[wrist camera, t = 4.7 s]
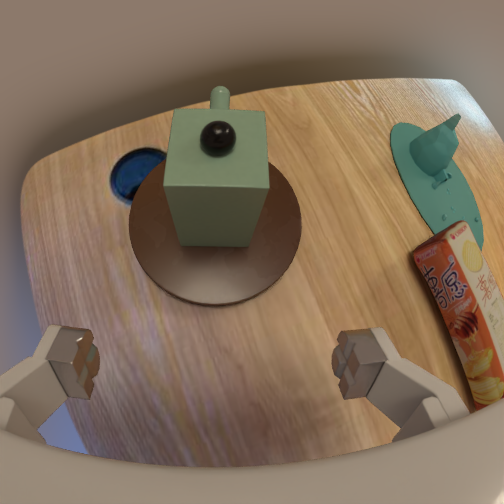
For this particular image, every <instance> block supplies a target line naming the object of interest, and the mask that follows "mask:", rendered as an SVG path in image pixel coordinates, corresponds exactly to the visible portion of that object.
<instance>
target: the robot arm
mask: <svg viewBox="0 0 504 504" xmlns="http://www.w3.org/2000/svg"><path fill="white" fill-rule="evenodd" d="M93 339H94V337H93V334H92V331H91V330H89V329H84V328H76V327H68V326H59V325H53V324H52V325H50V326H48V328H47V330H46V331H45V333H44V335H43V337H42V339H41V341H40V343H39V344H38V346H37V348H36V350H35V352H34V354H33V356H32V357H27V358H26V359H24V360H22V361H21V362H20V363H18V364H17V365H15V366H14V367H12V368H11V369H9V370H8V371H6V372H5V373H3V374H2V375H0V504H504V398H502V399H500V400H498V401H496V402H494V403H492V404H490V405H488V406H486V407H484V408H482V409H480V410H478V411H476V412H474V413H471V414H470V412H469V411H468V409H467V407H466V406H465V404H464V402H463V401H462V399H461V397H460V396H459V394H458V392H457V391H456V389H455V388H454V387H452V386H450V385H449V384H447V383H445V382H444V381H442V380H440V379H439V378H437V377H435V376H434V375H432V374H430V373H429V372H427V371H426V370H424V369H422V368H421V367H419V366H417V365H416V364H414V363H412V362H411V361H409V360H407V359H406V358H403V359H402V358H401V357H400V355H399V353H398V352H397V350H396V348H395V347H394V345H393V343H392V342H391V340H390V338H389V337H388V335H387V334H386V332H385V330H384V329H383V328H382V327H376V328H368V329H358V330H347V331H341V332H340V333H339V335H338V338H337V341H338V343H339V345H338V346H337V347H336V348H335V349H334V350H333V354H332V363H331V364H332V369H333V372H334V375H335V376H337V377H338V378H339V379H341V380H340V382H339V384H338V386H339V388H340V391H341V393H342V396H343V399H344V400H346V399H354V398H361V397H366V398H367V399H368V400H369V401H370V402H371V403H372V404H374V405H375V406H376V407H377V408H378V409H379V410H380V411H381V412H383V413H384V414H385V415H386V416H387V417H388V418H389V419H391V420H392V421H393V422H394V423H395V424H396V425H397V426H399V427H400V428H401V429H400V430H399V432H398V433H397V434H396V435H395V437H394V438H393V440H392V443H388V444H385V445H381V446H377V447H373V448H369V449H365V450H361V451H357V452H352V453H347V454H342V455H337V456H332V457H326V458H321V459H314V460H308V461H300V462H293V463H284V464H274V465H262V466H245V467H183V466H167V465H155V464H145V463H136V462H128V461H121V460H115V459H109V458H103V457H98V456H93V455H88V454H83V453H78V452H73V451H70V450H66V449H62V448H58V447H54V446H51V445H47V444H46V441H45V439H44V438H43V437H42V436H41V434H40V433H39V432H38V431H37V429H38V428H39V427H40V426H41V425H42V424H43V423H44V422H45V421H46V420H47V419H48V418H49V416H51V415H52V414H53V413H54V412H55V411H56V410H57V409H58V408H59V407H60V406H61V405H62V404H63V403H64V402H65V401H66V400H67V399H68V397H73V398H80V399H87V400H90V397H91V394H92V391H93V387H94V383H93V380H92V378H94V377H95V376H96V375H97V374H98V371H99V367H100V356H99V351H98V348H97V347H96V346H95V345H94V344H93V343H92V342H93Z"/></svg>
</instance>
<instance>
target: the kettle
mask: <svg viewBox="0 0 504 504" xmlns="http://www.w3.org/2000/svg"><path fill="white" fill-rule="evenodd" d="M229 105H230V92H229V90H228V89H227V88H225V87H224V86H218V87H215V88H214V89H213V90H212V92H211V99H210V109H174V113H173V119H172V125H171V131H170V137H169V144H168V151H167V158H166V159H165V160H164V161H162V162H161V163H160V164H158V165H157V166H156V167H155V168H154V169H153V170H152V171H151V172H150V173H149V174H148V175H147V176H146V178H145V179H144V180H143V182H142V183H141V185H140V186H139V188H138V190H137V192H136V194H135V197H134V200H133V202H132V205H131V210H130V215H129V233H130V240H131V244H132V248H133V250H134V253H135V255H136V258H137V260H138V261H139V263H140V265H141V267H142V268H143V269H144V271H145V272H146V273H147V274H148V276H149V277H150V278H151V279H152V280H153V281H154V282H155V283H156V284H157V285H158V286H159V287H161V288H162V289H164V290H165V291H166V292H168V293H169V294H171V295H173V296H175V297H177V298H179V299H182V300H184V301H187V302H190V303H194V304H199V305H207V306H224V305H231V304H236V303H240V302H243V301H246V300H248V299H251V298H253V297H255V296H257V295H259V294H261V293H262V292H263V291H265V290H266V289H268V288H269V287H270V286H272V285H273V284H274V283H275V282H276V281H277V280H278V279H279V278H280V277H281V276H282V275H283V273H284V272H285V271H286V270H287V268H288V267H289V265H290V264H291V262H292V260H293V258H294V256H295V254H296V251H297V249H298V245H299V242H300V237H301V229H302V226H301V213H300V207H299V204H298V201H297V198H296V195H295V193H294V191H293V189H292V187H291V186H290V184H289V182H288V181H287V179H286V178H285V177H284V176H283V175H282V173H281V172H280V171H279V170H278V169H277V168H276V167H275V166H273V165H272V164H271V163H269V162H268V150H267V134H266V119H265V112H264V111H251V110H232V109H229Z"/></svg>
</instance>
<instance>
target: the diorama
mask: <svg viewBox="0 0 504 504" xmlns="http://www.w3.org/2000/svg"><path fill="white" fill-rule="evenodd" d="M460 119H461V116H460V115H459V113H458V114H455V115H454V116H452V117H451V118H449V119H448V120H446V121H445V122H443V123H442V124H440V125H438V126H436V127H434V128H432V129H430V130H428V131H424V130H423V129H421V128H420V127H417V126H415V125H412V124H409V123H398V124H396V125H394V127H393V129H392V131H391V134H390V146H391V150H392V154H393V158H394V162H395V164H396V167H397V169H398V172H399V174H400V177H401V179H402V181H403V183H404V185H405V187H406V189H407V191H408V193H409V195H410V197H411V199H412V201H413V202H414V204H415V206H416V207H417V209H418V211H419V212H420V214H421V216H422V217H423V219H424V220H425V222H426V223H427V224H428V226H429V227H430V228H431V230H432V231H433V233H434V234H437V233H438V232H440V231H442V230H443V229H445V228H447V227H448V226H450V225H452V224H453V223H455V222H457V221H460V220H464V221H466V222H467V223H468V225H469V227H470V229H471V231H472V233H473V235H474V238H475V240H476V242H477V244H478V246H479V248H480V250H481V251H482V246H483V241H484V238H483V225H482V221H481V217H480V213H479V210H478V207H477V204H476V201H475V198H474V195H473V193H472V191H471V189H470V187H469V185H468V183H467V181H466V179H465V177H464V175H463V174H462V172H461V171H460V169H459V168H458V166H457V165H456V164H455V162H454V161H453V159H452V157H453V155H454V153H455V151H456V148H457V146H458V144H459V142H458V139H457V136H456V133H455V130H454V129H455V127H456V125H457V124H458V122H459V120H460Z"/></svg>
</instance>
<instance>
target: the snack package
mask: <svg viewBox="0 0 504 504" xmlns="http://www.w3.org/2000/svg"><path fill="white" fill-rule="evenodd" d="M414 260H415V263H416V265H417V266H418V268H419V270H420V271H421V273H422V274H423V276H424V278H425V279H426V281H427V283H428V285H429V287H430V289H431V291H432V293H433V295H434V297H435V300H436V302H437V304H438V306H439V309H440V311H441V313H442V316H443V318H444V321H445V324H446V326H447V328H448V331H449V333H450V336H451V338H452V341H453V343H454V346H455V348H456V351H457V353H458V355H459V358H460V360H461V363H462V366H463V368H464V371H465V374H466V377H467V380H468V382H469V385H470V389H471V392H472V395H473V399H474V405H475V408H476V410H477V411H478V410H480V409H482V408H484V407H486V406H488V405H490V404H492V403H494V402H496V401H498V400H500V399H502V398H504V299H503V297H502V294H501V292H500V290H499V288H498V285H497V283H496V281H495V278H494V276H493V274H492V272H491V270H490V268H489V266H488V264H487V261H486V260H485V258H484V256H483V254H482V252H481V250H480V248H479V246H478V244H477V242H476V240H475V238H474V235H473V233H472V231H471V229H470V227H469V225H468V223H467V222H466V221H464V220H460V221H457V222H455V223H453V224H452V225H450V226H448V227H447V228H445V229H443V230H442V231H440V232H438V233H437V234H435V235H434V236H432V237H431V238H430V239H428V240H427V241H425V242H424V243H422V244H421V245H419V246H418V247H417V248H416V249H415V251H414Z"/></svg>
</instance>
